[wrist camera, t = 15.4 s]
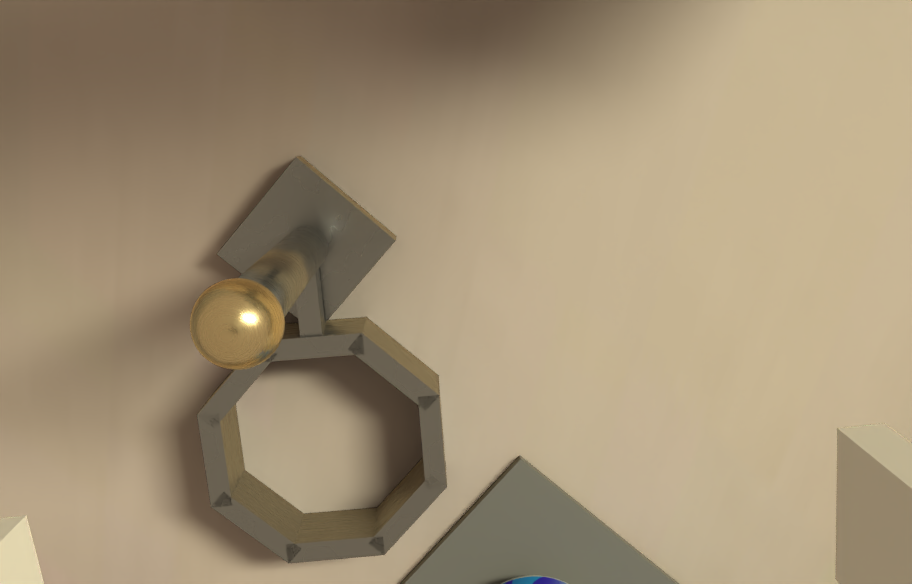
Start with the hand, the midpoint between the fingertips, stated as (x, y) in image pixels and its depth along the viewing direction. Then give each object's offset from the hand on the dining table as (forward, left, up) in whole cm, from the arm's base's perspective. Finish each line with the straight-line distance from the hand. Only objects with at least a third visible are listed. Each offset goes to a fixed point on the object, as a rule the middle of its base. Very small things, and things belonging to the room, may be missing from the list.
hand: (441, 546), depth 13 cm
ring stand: (+10, +1, -33) cm, 35 cm away
